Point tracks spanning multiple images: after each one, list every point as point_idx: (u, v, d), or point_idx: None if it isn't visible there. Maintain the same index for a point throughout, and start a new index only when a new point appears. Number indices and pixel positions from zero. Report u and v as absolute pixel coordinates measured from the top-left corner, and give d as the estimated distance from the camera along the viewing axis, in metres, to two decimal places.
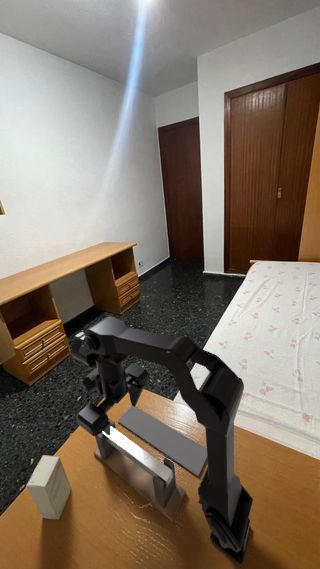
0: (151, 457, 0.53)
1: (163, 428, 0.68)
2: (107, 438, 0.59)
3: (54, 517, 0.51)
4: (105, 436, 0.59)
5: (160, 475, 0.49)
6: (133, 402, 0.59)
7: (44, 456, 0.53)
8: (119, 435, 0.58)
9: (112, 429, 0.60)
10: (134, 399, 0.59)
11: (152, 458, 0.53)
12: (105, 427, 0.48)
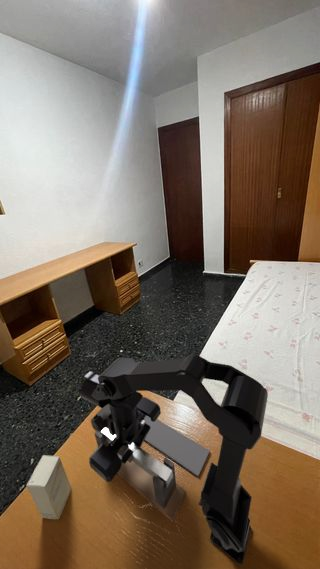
0: (151, 457, 0.53)
1: (163, 428, 0.68)
2: (107, 438, 0.59)
3: (54, 517, 0.51)
4: (105, 436, 0.59)
5: (160, 475, 0.49)
6: None
7: (44, 456, 0.53)
8: None
9: None
10: None
11: (152, 458, 0.53)
12: (129, 457, 0.50)
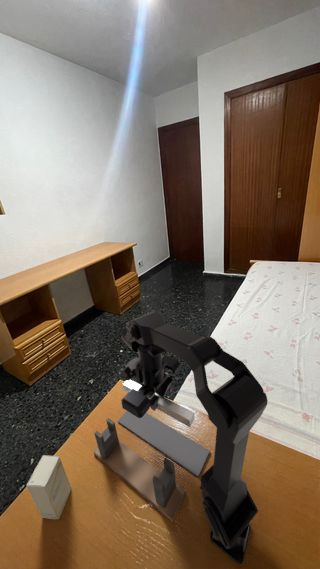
0: (174, 403, 0.59)
1: (163, 428, 0.68)
2: None
3: (54, 517, 0.51)
4: None
5: (184, 416, 0.55)
6: None
7: (44, 456, 0.53)
8: None
9: (136, 384, 0.66)
10: None
11: (175, 404, 0.58)
12: (156, 400, 0.56)
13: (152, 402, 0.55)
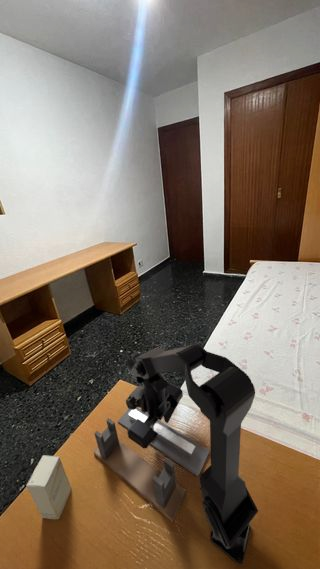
0: (177, 436, 0.63)
1: None
2: None
3: (54, 517, 0.51)
4: None
5: (186, 449, 0.60)
6: (167, 419, 0.68)
7: (44, 456, 0.53)
8: None
9: (141, 414, 0.71)
10: (167, 417, 0.67)
11: (178, 437, 0.63)
12: (154, 437, 0.58)
13: None
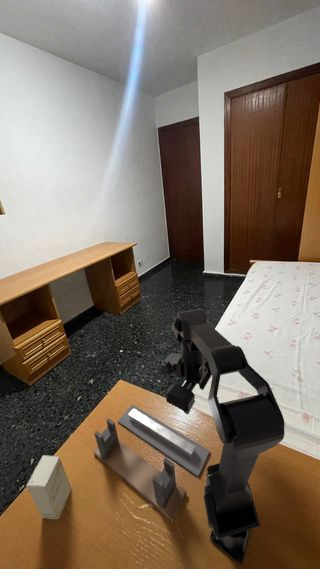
0: (177, 436, 0.63)
1: None
2: (137, 422, 0.69)
3: (54, 517, 0.51)
4: (135, 420, 0.70)
5: (186, 449, 0.60)
6: (202, 386, 0.66)
7: (44, 456, 0.53)
8: (148, 419, 0.69)
9: (141, 414, 0.71)
10: (203, 383, 0.65)
11: (178, 437, 0.63)
12: (192, 404, 0.54)
13: None
